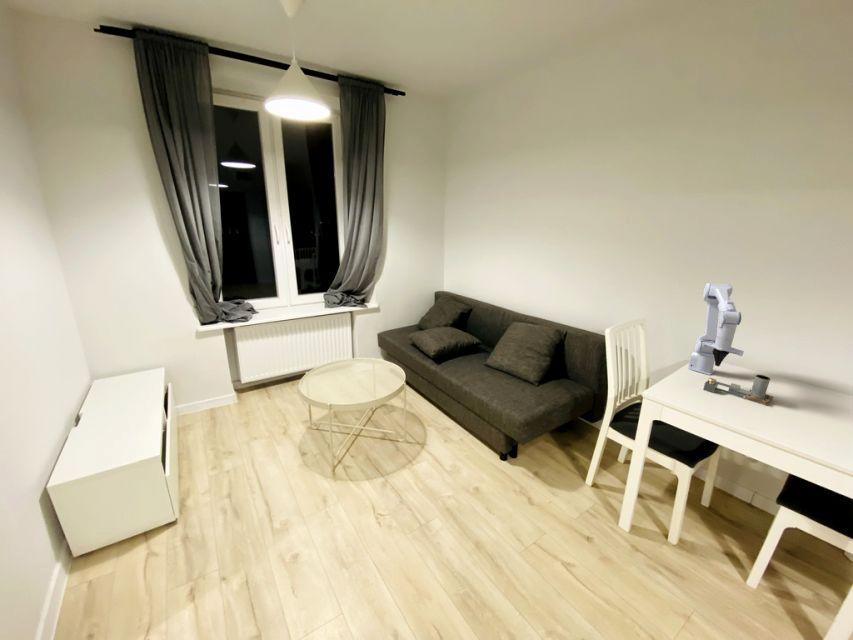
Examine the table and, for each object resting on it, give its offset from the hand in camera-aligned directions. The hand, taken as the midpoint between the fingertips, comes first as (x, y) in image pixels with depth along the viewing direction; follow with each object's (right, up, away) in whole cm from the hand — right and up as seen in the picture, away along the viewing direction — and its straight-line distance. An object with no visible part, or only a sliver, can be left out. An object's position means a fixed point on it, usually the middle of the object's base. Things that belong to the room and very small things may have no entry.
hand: (717, 365), depth 160 cm
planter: (+9, -13, -9) cm, 19 cm away
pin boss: (-5, -11, -2) cm, 12 cm away
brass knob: (-5, -10, -2) cm, 12 cm away
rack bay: (+9, -13, -9) cm, 19 cm away
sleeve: (+3, -11, -1) cm, 11 cm away
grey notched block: (+6, -12, -4) cm, 14 cm away
